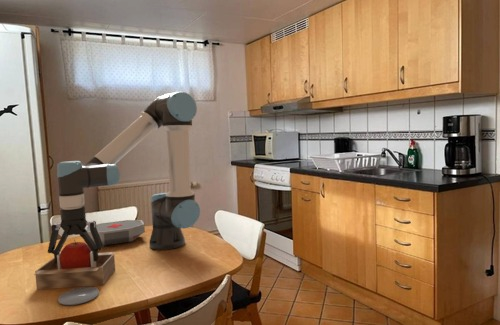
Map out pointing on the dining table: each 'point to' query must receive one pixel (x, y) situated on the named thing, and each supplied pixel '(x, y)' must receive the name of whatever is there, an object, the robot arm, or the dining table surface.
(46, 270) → the brown shallow open box
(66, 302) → the plate
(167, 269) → the dining table surface
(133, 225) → the first aid kit
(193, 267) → the dining table surface
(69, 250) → the apple
